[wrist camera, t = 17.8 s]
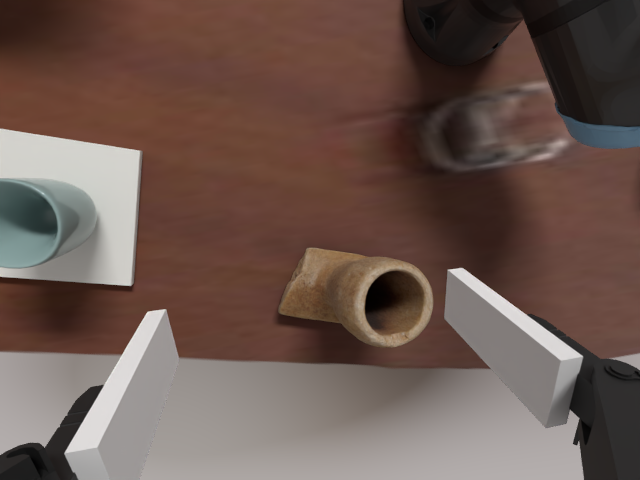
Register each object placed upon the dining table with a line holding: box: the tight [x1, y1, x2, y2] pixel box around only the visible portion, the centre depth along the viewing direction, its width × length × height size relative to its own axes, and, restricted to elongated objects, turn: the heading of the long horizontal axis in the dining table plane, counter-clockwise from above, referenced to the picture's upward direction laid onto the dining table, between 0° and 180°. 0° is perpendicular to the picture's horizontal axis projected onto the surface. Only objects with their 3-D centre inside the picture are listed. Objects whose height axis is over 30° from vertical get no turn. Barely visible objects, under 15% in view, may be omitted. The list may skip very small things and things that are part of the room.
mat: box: [0, 129, 143, 286], centre depth 38 cm, size 16×14×1 cm
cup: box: [0, 178, 97, 269], centre depth 33 cm, size 8×8×10 cm
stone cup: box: [279, 248, 433, 347], centre depth 40 cm, size 15×12×15 cm
